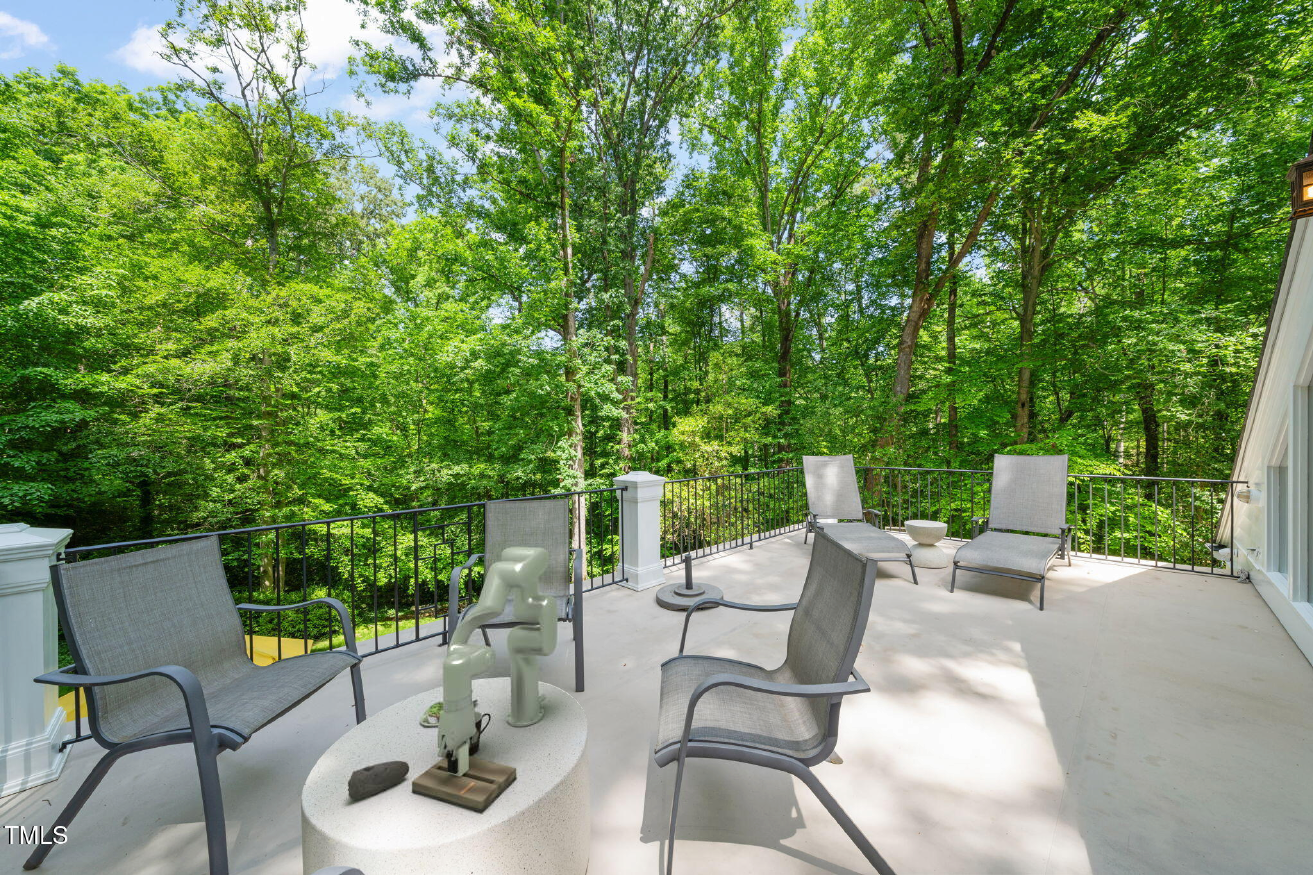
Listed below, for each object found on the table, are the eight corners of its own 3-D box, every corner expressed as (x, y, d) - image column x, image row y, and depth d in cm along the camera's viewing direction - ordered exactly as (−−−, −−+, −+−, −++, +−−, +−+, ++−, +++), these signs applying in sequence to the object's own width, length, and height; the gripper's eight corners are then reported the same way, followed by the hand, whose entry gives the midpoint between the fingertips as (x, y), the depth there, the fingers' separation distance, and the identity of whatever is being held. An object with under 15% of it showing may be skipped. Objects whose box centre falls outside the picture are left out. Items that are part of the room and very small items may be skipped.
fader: (456, 771, 134) (456, 740, 135) (468, 775, 133) (468, 743, 133) (447, 779, 131) (447, 747, 132) (460, 782, 130) (459, 750, 130)
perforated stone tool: (408, 773, 137) (408, 749, 137) (410, 783, 133) (410, 758, 133) (346, 796, 128) (347, 769, 129) (347, 807, 124) (347, 780, 125)
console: (451, 761, 142) (451, 750, 142) (516, 778, 133) (516, 767, 133) (412, 792, 129) (412, 780, 129) (481, 813, 120) (481, 800, 120)
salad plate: (467, 729, 160) (467, 715, 160) (411, 735, 157) (411, 721, 158) (479, 700, 179) (479, 688, 180) (430, 706, 176) (430, 693, 177)
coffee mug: (454, 763, 141) (454, 729, 142) (452, 748, 149) (451, 715, 149) (494, 751, 147) (494, 718, 147) (490, 737, 154) (490, 706, 155)
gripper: (468, 686, 142) (469, 748, 141) (423, 713, 127) (424, 784, 126) (488, 689, 139) (489, 753, 138) (444, 718, 124) (445, 790, 123)
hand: (458, 767), depth 132 cm, fingers closed on fader, 3 cm apart
